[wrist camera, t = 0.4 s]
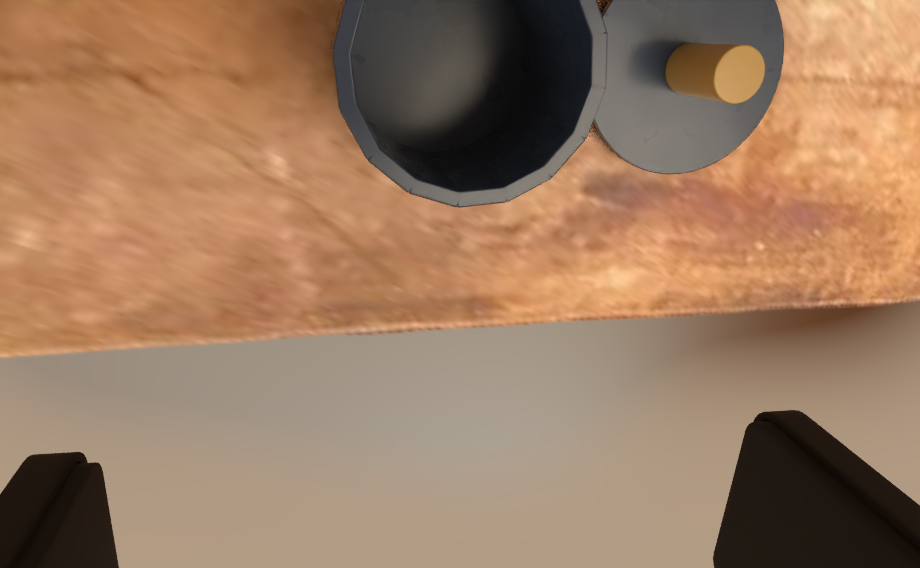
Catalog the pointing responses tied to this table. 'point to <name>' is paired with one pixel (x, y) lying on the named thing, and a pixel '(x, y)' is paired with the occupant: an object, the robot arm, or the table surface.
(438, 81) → the tin
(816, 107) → the table surface
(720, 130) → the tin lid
